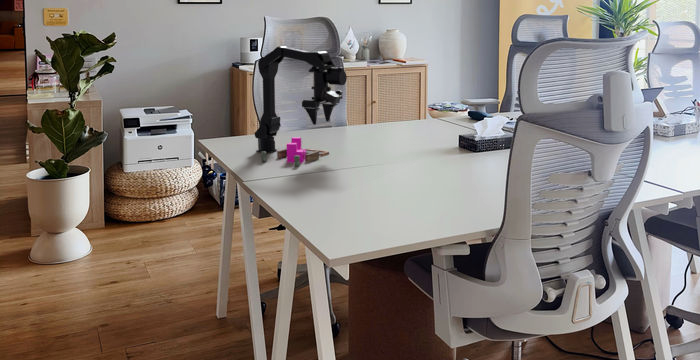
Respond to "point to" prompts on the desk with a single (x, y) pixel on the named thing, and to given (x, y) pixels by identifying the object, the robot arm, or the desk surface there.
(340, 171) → the desk surface
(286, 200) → the desk surface
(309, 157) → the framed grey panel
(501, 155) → the desk surface
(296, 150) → the magenta curved bracket
